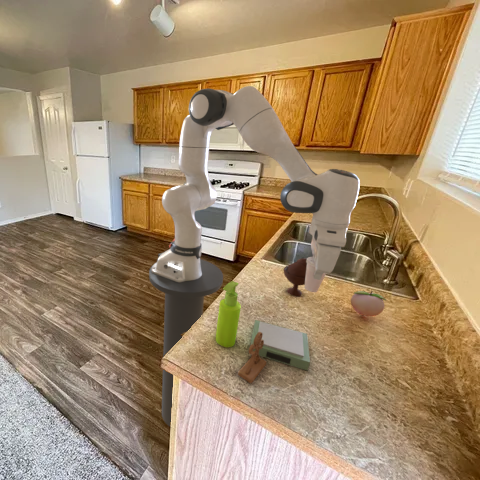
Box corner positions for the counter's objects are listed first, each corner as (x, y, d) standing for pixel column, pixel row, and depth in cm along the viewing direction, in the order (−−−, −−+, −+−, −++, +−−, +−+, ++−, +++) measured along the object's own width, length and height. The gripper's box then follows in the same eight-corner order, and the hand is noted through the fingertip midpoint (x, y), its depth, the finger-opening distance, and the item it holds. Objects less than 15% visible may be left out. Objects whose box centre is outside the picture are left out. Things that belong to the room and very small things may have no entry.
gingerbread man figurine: (253, 356, 75) (259, 321, 70) (266, 364, 72) (274, 328, 68) (237, 374, 69) (243, 338, 64) (251, 383, 66) (258, 346, 62)
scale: (248, 353, 76) (250, 343, 74) (253, 327, 86) (255, 318, 85) (307, 372, 70) (310, 361, 69) (305, 341, 80) (307, 331, 79)
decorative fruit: (353, 321, 90) (362, 296, 86) (344, 307, 97) (351, 283, 94) (385, 325, 88) (395, 300, 84) (373, 311, 95) (382, 287, 92)
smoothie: (296, 282, 85) (307, 242, 80) (318, 284, 84) (330, 244, 79) (303, 293, 79) (314, 250, 74) (326, 296, 78) (339, 253, 73)
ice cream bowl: (289, 282, 113) (296, 250, 108) (315, 295, 104) (324, 261, 99) (273, 289, 108) (280, 256, 102) (300, 303, 99) (309, 267, 93)
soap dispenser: (209, 342, 79) (216, 284, 72) (221, 330, 84) (228, 275, 77) (227, 352, 76) (235, 292, 68) (238, 340, 80) (247, 283, 73)
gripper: (312, 218, 84) (302, 257, 89) (318, 239, 67) (305, 286, 72) (335, 221, 82) (323, 261, 87) (347, 243, 64) (332, 292, 70)
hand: (315, 272), depth 79 cm, fingers closed on smoothie, 6 cm apart
